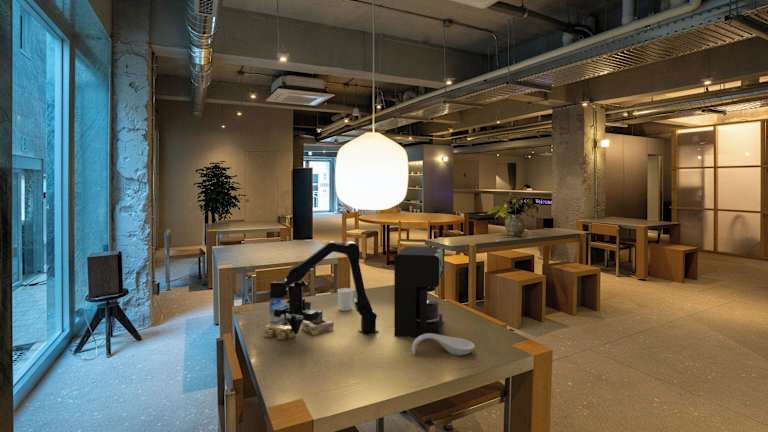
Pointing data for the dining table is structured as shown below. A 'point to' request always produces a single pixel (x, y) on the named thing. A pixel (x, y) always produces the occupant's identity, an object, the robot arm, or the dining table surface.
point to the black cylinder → (318, 320)
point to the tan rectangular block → (282, 328)
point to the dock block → (317, 326)
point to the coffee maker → (417, 291)
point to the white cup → (345, 299)
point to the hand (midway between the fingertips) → (296, 334)
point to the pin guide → (280, 334)
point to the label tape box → (273, 306)
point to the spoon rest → (447, 344)
